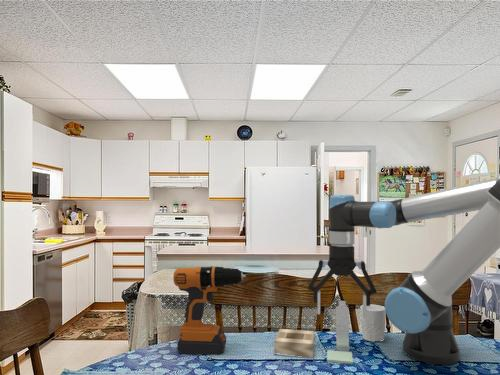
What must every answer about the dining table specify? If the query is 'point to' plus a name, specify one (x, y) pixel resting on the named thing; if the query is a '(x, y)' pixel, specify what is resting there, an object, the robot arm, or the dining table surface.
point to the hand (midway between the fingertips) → (341, 314)
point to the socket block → (295, 342)
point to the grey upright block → (342, 326)
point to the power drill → (202, 307)
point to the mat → (339, 357)
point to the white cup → (373, 322)
